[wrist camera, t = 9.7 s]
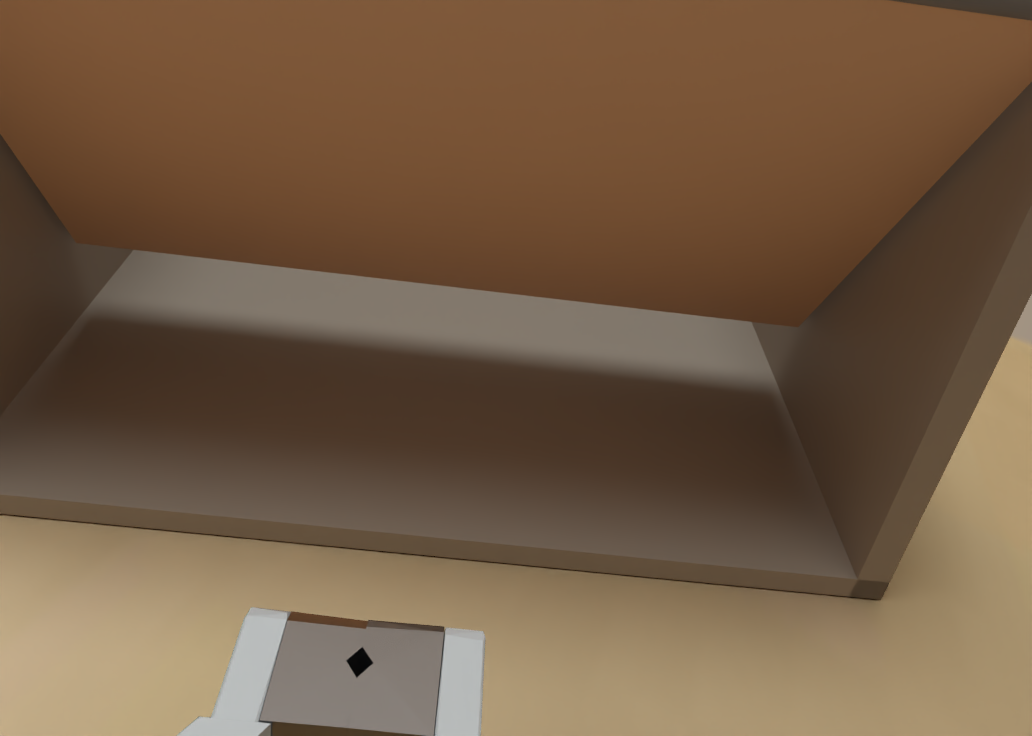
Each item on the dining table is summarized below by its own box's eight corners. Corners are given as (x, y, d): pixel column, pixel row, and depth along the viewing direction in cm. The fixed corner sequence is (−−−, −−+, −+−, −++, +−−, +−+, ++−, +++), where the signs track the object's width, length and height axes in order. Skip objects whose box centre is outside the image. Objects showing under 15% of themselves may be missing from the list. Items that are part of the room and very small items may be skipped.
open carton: (747, 289, 36) (868, -109, 29) (880, 599, 23) (1173, 4, 15) (148, 218, 35) (106, -222, 27) (-89, 505, 21) (-304, -210, 14)
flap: (796, 297, 28) (1116, -66, 15) (798, 333, 27) (1129, -9, 15) (85, 212, 26) (-218, -265, 14) (74, 249, 26) (-250, -209, 13)
